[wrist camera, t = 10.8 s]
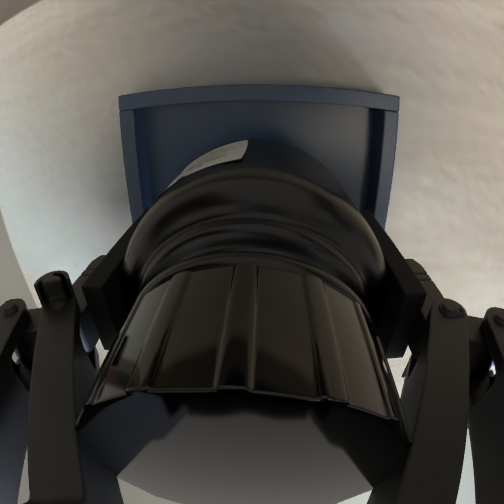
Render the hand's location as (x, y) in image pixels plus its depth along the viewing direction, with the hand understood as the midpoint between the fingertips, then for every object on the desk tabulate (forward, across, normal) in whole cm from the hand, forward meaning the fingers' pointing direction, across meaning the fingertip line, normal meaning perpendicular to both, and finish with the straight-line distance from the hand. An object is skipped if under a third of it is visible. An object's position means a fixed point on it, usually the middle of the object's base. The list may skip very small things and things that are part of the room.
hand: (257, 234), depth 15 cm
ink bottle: (+1, 0, 0) cm, 1 cm away
